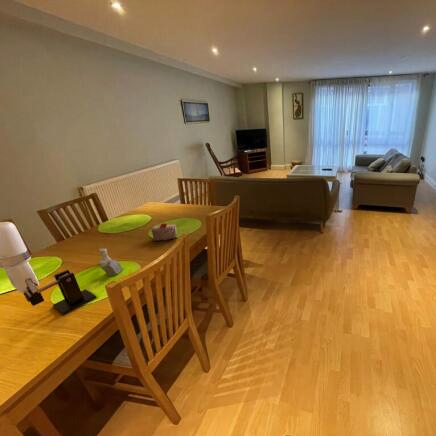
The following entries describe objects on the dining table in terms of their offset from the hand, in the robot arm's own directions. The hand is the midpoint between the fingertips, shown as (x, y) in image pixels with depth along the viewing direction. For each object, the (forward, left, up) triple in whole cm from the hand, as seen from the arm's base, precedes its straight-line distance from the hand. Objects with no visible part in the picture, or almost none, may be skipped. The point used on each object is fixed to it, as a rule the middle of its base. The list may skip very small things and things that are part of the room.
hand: (36, 300), depth 87 cm
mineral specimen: (+28, +8, -8) cm, 30 cm away
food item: (+65, +20, -8) cm, 68 cm away
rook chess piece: (+32, +22, -8) cm, 39 cm away
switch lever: (+5, 0, +2) cm, 5 cm away
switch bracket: (+10, 0, -8) cm, 13 cm away
